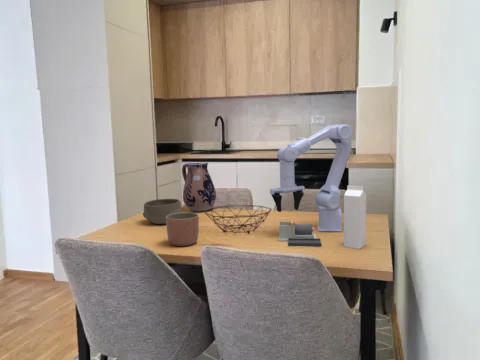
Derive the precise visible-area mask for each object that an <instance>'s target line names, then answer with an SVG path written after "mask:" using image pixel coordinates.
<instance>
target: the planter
mask: <svg viewBox="0 0 480 360" xmlns="http://www.w3.org/2000/svg"><path fill="white" fill-rule="evenodd" d="M199 219H200V218H199V214H198V213H197V212H188V211H186V212H185V211H182V212H181V213H174V214H169V215H167V216H166V224H165V225H166V234H167V239H168V242H169V244H170V245H172V246H176V247H187V246H191V245H194V244H195V243H197V242H198V238H199V232H200V231H199V229H200V228H199V224H200V223H199V222H200V221H199Z"/></svg>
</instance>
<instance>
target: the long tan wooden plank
mask: <svg viewBox="0 0 480 360" xmlns="http://www.w3.org/2000/svg"><path fill="white" fill-rule="evenodd" d="M290 222H291V226H294V222H295V218H294V217H290Z"/></svg>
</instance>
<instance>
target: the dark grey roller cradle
mask: <svg viewBox="0 0 480 360" xmlns="http://www.w3.org/2000/svg"><path fill="white" fill-rule="evenodd" d="M287 246H288V247H322V241H321V238H317V237H316V238H288V241H287Z"/></svg>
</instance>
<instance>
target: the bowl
mask: <svg viewBox="0 0 480 360" xmlns="http://www.w3.org/2000/svg"><path fill="white" fill-rule="evenodd" d="M174 213H183V205H182V202H181V200H180V199H178V198H177V199H176V198H160V199H152V200H148V201H145V203H143V212H142V216H143V218H144V219H146V220H147V221H148V222H150V223H152V224H155V225H166V216H167V215H169V214H174Z"/></svg>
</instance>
